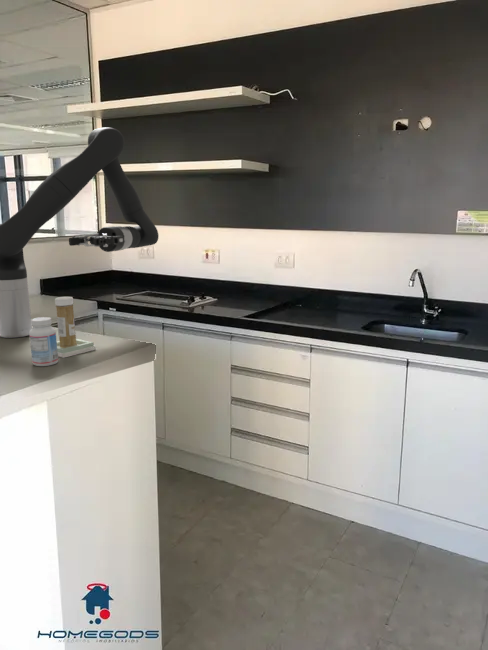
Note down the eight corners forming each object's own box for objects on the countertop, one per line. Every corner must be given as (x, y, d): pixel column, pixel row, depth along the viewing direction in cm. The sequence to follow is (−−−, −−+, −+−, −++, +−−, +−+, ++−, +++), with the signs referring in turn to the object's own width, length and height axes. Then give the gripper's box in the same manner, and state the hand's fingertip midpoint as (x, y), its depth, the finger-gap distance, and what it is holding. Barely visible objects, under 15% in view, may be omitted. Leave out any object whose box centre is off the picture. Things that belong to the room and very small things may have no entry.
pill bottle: (49, 358, 139) (45, 315, 137) (63, 362, 135) (59, 318, 133) (27, 364, 135) (22, 319, 132) (40, 368, 131) (36, 322, 128)
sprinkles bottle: (79, 347, 146) (75, 297, 143) (61, 349, 144) (57, 299, 141) (74, 344, 150) (70, 295, 147) (57, 346, 147) (52, 297, 145)
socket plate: (41, 351, 146) (40, 344, 146) (73, 344, 154) (73, 337, 153) (63, 357, 140) (62, 350, 139) (95, 349, 147) (95, 342, 147)
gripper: (94, 226, 171) (60, 228, 156) (134, 226, 166) (102, 228, 151) (96, 250, 173) (62, 254, 158) (135, 251, 168) (104, 255, 153)
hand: (82, 241), depth 155 cm, fingers open, 8 cm apart
